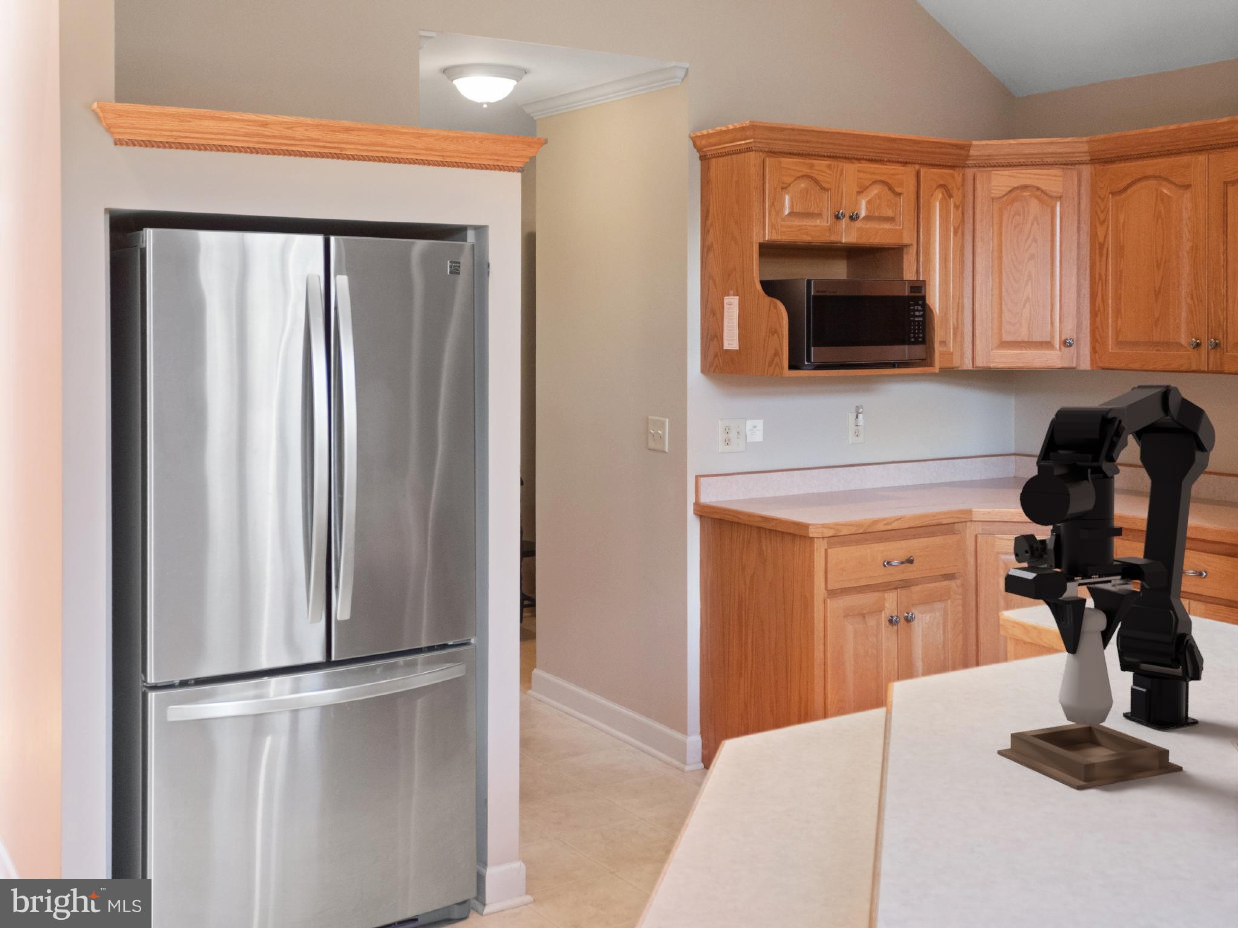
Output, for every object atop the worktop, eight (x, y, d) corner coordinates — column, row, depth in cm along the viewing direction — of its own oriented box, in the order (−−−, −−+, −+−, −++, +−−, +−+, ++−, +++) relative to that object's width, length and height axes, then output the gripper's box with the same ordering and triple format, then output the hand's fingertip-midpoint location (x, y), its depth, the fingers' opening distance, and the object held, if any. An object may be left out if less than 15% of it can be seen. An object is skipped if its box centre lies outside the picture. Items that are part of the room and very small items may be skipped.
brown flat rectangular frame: (1097, 737, 142) (1097, 718, 141) (1182, 770, 129) (1183, 749, 129) (997, 753, 136) (997, 733, 136) (1076, 789, 124) (1076, 767, 124)
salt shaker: (1117, 728, 129) (1118, 614, 128) (1063, 726, 131) (1063, 613, 130) (1106, 713, 135) (1107, 604, 134) (1054, 711, 136) (1055, 603, 135)
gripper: (1100, 505, 142) (1099, 629, 143) (973, 514, 135) (974, 645, 137) (1171, 514, 131) (1170, 649, 132) (1038, 525, 125) (1037, 666, 126)
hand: (1085, 651), depth 132 cm, fingers closed on salt shaker, 4 cm apart
